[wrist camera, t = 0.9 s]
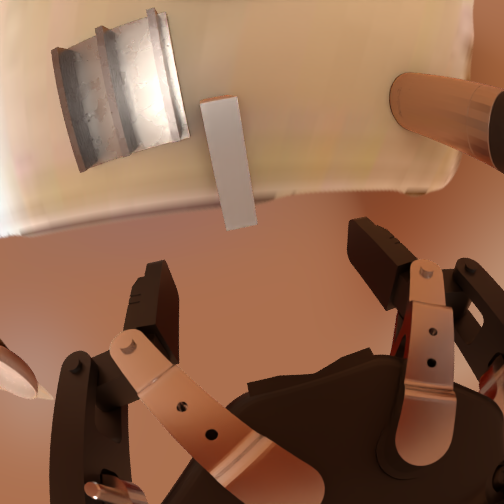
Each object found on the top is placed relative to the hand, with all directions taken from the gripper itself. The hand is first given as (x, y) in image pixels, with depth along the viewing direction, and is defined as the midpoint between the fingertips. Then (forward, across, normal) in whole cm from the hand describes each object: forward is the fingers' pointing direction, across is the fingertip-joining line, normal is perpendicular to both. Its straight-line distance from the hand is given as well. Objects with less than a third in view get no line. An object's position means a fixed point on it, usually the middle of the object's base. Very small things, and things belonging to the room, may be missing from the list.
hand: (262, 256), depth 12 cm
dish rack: (+23, +10, -10) cm, 27 cm away
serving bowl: (+25, +66, +33) cm, 77 cm away
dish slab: (+23, 0, 0) cm, 23 cm away
